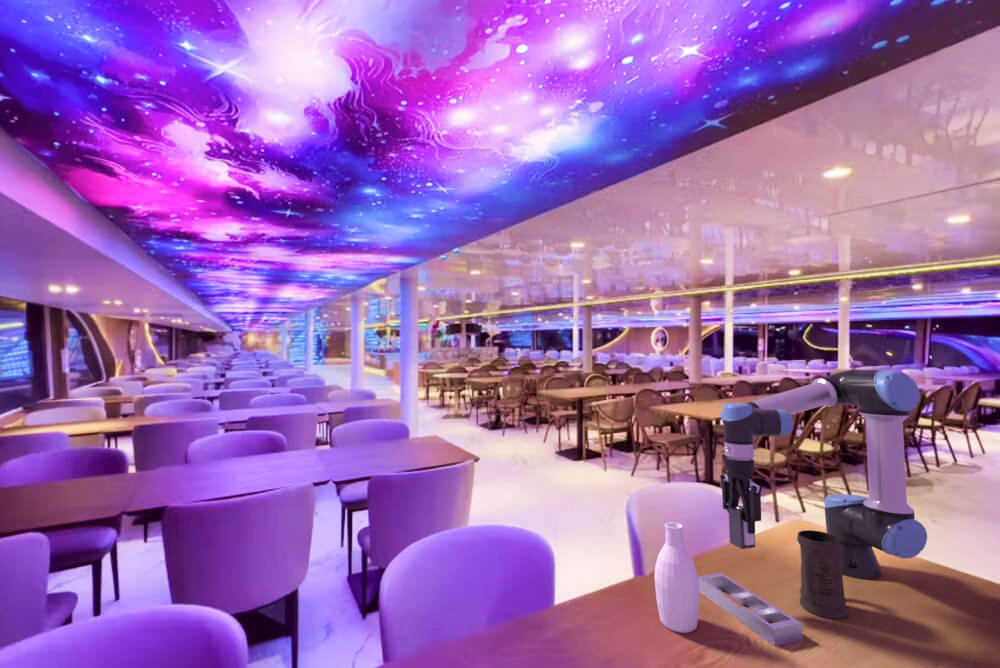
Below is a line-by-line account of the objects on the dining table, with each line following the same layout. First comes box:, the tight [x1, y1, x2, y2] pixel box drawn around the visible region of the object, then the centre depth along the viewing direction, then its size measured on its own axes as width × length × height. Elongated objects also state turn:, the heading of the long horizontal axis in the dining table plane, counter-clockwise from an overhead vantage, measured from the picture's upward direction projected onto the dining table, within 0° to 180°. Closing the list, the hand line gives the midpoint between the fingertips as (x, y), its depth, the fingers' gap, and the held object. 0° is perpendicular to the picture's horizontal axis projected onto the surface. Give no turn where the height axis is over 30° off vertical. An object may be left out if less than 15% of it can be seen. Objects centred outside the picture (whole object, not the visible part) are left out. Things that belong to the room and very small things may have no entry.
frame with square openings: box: [697, 572, 803, 647], centre depth 122 cm, size 8×28×4 cm, turn 15°
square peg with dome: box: [728, 505, 756, 550], centre depth 127 cm, size 4×4×11 cm
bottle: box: [654, 521, 700, 634], centre depth 119 cm, size 11×11×25 cm
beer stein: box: [796, 529, 849, 620], centre depth 126 cm, size 15×11×20 cm
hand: (742, 540), depth 127 cm, fingers closed on square peg with dome, 4 cm apart
